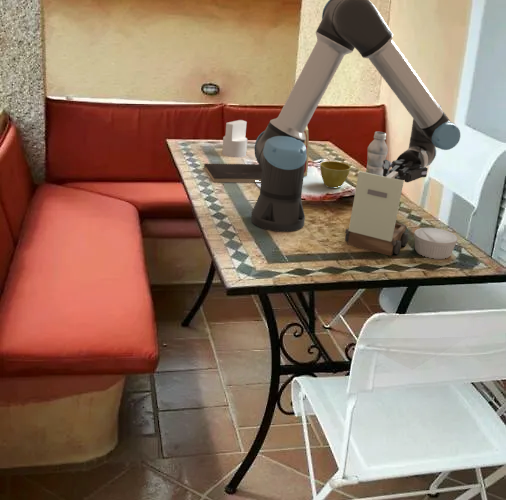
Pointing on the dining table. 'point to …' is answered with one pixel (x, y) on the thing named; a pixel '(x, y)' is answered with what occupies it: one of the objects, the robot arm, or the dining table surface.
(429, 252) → the ramekin
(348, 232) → the flatbed cart
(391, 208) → the panel
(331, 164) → the flower pot
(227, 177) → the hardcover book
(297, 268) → the dining table surface
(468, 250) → the dining table surface
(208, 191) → the dining table surface
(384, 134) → the plastic bottle
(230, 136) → the cylinder with rectangular tab
